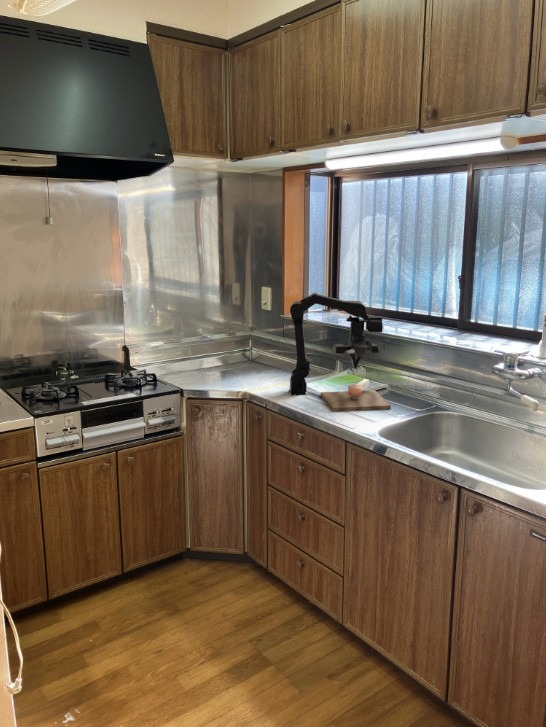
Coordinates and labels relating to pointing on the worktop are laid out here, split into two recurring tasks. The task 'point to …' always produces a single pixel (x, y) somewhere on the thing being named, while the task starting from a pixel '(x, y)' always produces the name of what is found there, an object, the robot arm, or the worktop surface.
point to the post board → (354, 401)
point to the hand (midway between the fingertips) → (354, 368)
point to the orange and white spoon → (358, 388)
